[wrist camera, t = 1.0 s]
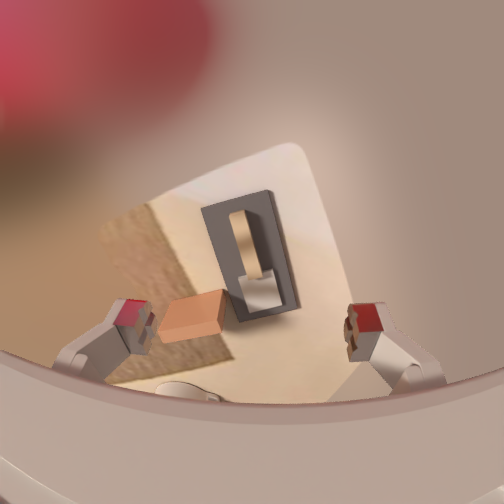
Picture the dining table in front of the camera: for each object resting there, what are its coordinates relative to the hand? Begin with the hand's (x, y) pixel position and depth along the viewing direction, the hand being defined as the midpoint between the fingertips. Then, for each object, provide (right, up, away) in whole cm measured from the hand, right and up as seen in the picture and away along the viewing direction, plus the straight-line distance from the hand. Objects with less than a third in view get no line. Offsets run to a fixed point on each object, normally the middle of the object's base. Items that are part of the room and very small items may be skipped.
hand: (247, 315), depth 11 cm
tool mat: (0, +1, +37) cm, 38 cm away
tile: (-10, -6, +40) cm, 42 cm away
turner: (0, +1, +37) cm, 37 cm away
